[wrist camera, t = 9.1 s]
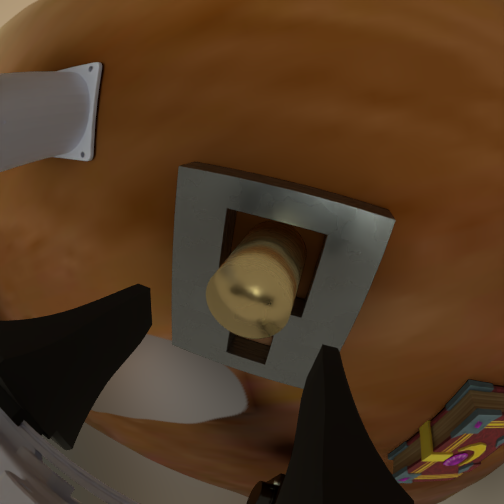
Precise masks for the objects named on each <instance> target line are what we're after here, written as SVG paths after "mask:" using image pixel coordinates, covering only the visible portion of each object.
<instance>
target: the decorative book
mask: <svg viewBox="0 0 504 504" xmlns="http://www.w3.org/2000/svg"><path fill="white" fill-rule="evenodd" d="M445 406H446V408H445V409H444V410H443V411H442V412H441V413H439V414H438V415H437V416H436V417H435V418H434V419H433V420H432V421H430V420H428V421H427V422H425V423H424V424H423V425H422V426H421V427H420V428H419V430H420V432H419V433H417V434H416V435H415V436H414V437H413V438H411V439H410V440H409V441H408V442H406V441H405V442H404V443H403V444H401V445H400V446H399V447H398V448H396V449H395V450H394V451H392V452H391V453H390V454H388V459H390V460H394V466H393V477H394V478H395V479H396V481H397V482H398V483H412V482H420V481H442V480H453V479H455V478H456V477H458V476H460V475H461V474H463V473H464V472H470V471H471V470H473V469H474V468H476V467H477V466H479V465H480V464H481V462H480V461H482V460H483V459H485V458H486V457H487V456H489V455H490V454H491V453H493V452H494V451H495V450H497V449H498V448H499V447H500V446H502V445H504V387H498V386H493V384H492V383H486V382H480V381H474V380H468V381H467V382H466V383H465V385H464V386H463V387H462V388H461V389H460V390H459V391H458V392H457V393H456V395H455V396H454V397H453V398H452V399H451V400H450V401H449V402H448V403H447V404H446V405H445Z"/></svg>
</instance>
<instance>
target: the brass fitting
mask: <svg viewBox="0 0 504 504" xmlns="http://www.w3.org/2000/svg"><path fill="white" fill-rule="evenodd" d="M305 259H306V247H305V243H304V241H303V239H302V237H301V236H300V234H299V233H298V232H297V231H296V230H295V229H294V228H292V227H291V226H289V225H287V224H285V223H282V222H277V221H268V222H263V223H260V224H258V225H257V226H255V227H254V228H253V229H251V231H250V232H249V233H248V234H247V235H246V237H245V238H244V239H243V240H242V241H241V242H240V244H239V245H238V246H237V247H236V248H235V250H234V251H233V252H232V253H231V254H230V256H229V257H228V258H227V259H226V260H225V262H224V263H223V264H222V265H221V267H220V268H219V269H218V270H217V271H216V273H215V274H214V275H213V276H212V277H211V279H210V281H209V282H208V285H207V289H206V301H207V305H208V307H209V310H210V312H211V314H212V315H213V316H214V318H215V319H216V320H217V321H218V322H219V323H220V324H221V325H222V326H223V327H224V328H226V329H227V330H229V331H230V332H232V333H234V334H236V335H239V336H242V337H246V338H254V339H260V338H266V337H270V336H272V335H275V334H276V333H278V332H279V331H281V330H282V329H283V328H284V327H285V325H286V324H287V322H288V320H289V318H290V314H291V311H292V307H293V304H294V300H295V296H296V293H297V289H298V285H299V282H300V278H301V274H302V271H303V267H304V263H305Z"/></svg>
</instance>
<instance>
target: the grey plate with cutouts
mask: <svg viewBox="0 0 504 504" xmlns="http://www.w3.org/2000/svg"><path fill="white" fill-rule="evenodd" d="M237 211H241V212H245V213H249V214H252V215H256V216H260V217H264V218H268V219H272V220H276V221H279V222H283V223H287V224H291V225H294V226H298V227H302V228H305V229H309V230H313V231H316V232H320V233H323V234H326V235H325V239H324V242H323V246H322V249H321V252H320V256H319V259H318V262H317V265H316V269H315V272H314V275H313V278H312V281H311V284H310V288H309V291H308V294H307V297H306V300H303V299H299V298H296V297H295V300H294V304H293V307H292V311H291V314H290V318H289V320H288V322H287V324H286V325H285V327H284V328H283V329H282V330H281V331H279V332H278V333H276V334H275V335H272V336H274V338H273V341H272V344H271V347H270V346H267V345H263V344H260V343H257V342H254V341H251V340H247V339H244V338H241V337H238V336H235V334H234V333H232V332H230V331H229V330H227V329H226V328H224V327H223V326H222V325H221V324H220V323H219V322H218V321H217V320H216V319H215V318H214V316H213V315H212V314H211V312H210V310H209V307H208V305H207V301H206V289H207V285H208V282H209V281H210V279H211V277H212V276H213V275H214V274H215V273H216V271H217V270H218V269H219V268H220V267H221V265H222V264H223V263H224V262H225V260H226V259H227V258H228V257H229V256H230V251H231V245H232V238H233V231H234V225H235V218H236V212H237ZM394 223H395V219H394V217H393V216H392V214H391V212H390V211H389V210H388V209H385V208H382V207H379V206H375V205H372V204H369V203H366V202H362V201H359V200H356V199H352V198H349V197H346V196H342V195H339V194H335V193H331V192H328V191H324V190H321V189H317V188H313V187H309V186H305V185H301V184H297V183H293V182H289V181H285V180H281V179H277V178H273V177H268V176H264V175H260V174H255V173H250V172H246V171H241V170H236V169H231V168H226V167H221V166H216V165H211V164H205V163H200V162H192V163H188V164H184V165H181V166H179V170H178V180H177V192H176V205H175V220H174V238H173V263H172V344H173V345H175V346H177V347H180V348H182V349H184V350H187V351H189V352H192V353H195V354H197V355H200V356H202V357H205V358H208V359H211V360H213V361H216V362H218V363H221V364H224V365H227V366H230V367H233V368H236V369H239V370H242V371H245V372H248V373H251V374H254V375H257V376H260V377H264V378H267V379H270V380H274V381H277V382H280V383H284V384H288V385H291V386H295V387H299V388H302V389H304V386H305V382H306V378H307V376H308V374H309V372H310V370H311V368H312V366H313V364H314V361H315V359H316V357H317V355H318V353H319V351H320V349H321V346H322V344H324V345H327V346H331V347H335V348H338V350H339V352H340V350H341V348H342V346H343V344H344V342H345V340H346V338H347V336H348V334H349V332H350V330H351V328H352V326H353V324H354V322H355V319H356V317H357V315H358V313H359V311H360V309H361V306H362V304H363V302H364V300H365V297H366V295H367V293H368V291H369V288H370V286H371V284H372V281H373V279H374V276H375V274H376V271H377V269H378V266H379V264H380V261H381V259H382V256H383V253H384V251H385V248H386V245H387V243H388V240H389V237H390V234H391V231H392V229H393V226H394Z"/></svg>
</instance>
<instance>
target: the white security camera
mask: <svg viewBox="0 0 504 504" xmlns="http://www.w3.org/2000/svg"><path fill="white" fill-rule="evenodd" d="M284 478H285V474H279V475H278V476H276V477H274V478H273V479H271V480H269V481H267V482H264V481H259V482H258V483H257V484H256V485H255V486H254V488H253V490H252V491H251V493H250V495H249V498H248V501H247V504H275V503H276V501H277V498H278V495H279V493H280V490H281V487H282V484H283V481H284Z"/></svg>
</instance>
